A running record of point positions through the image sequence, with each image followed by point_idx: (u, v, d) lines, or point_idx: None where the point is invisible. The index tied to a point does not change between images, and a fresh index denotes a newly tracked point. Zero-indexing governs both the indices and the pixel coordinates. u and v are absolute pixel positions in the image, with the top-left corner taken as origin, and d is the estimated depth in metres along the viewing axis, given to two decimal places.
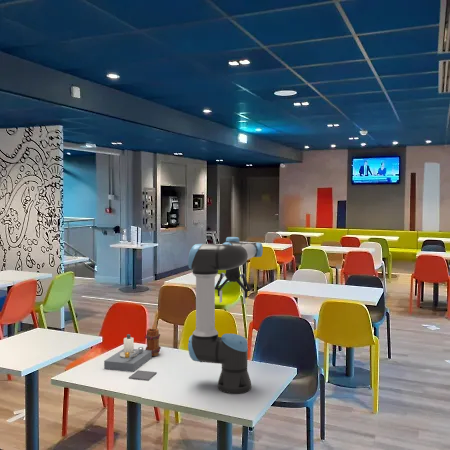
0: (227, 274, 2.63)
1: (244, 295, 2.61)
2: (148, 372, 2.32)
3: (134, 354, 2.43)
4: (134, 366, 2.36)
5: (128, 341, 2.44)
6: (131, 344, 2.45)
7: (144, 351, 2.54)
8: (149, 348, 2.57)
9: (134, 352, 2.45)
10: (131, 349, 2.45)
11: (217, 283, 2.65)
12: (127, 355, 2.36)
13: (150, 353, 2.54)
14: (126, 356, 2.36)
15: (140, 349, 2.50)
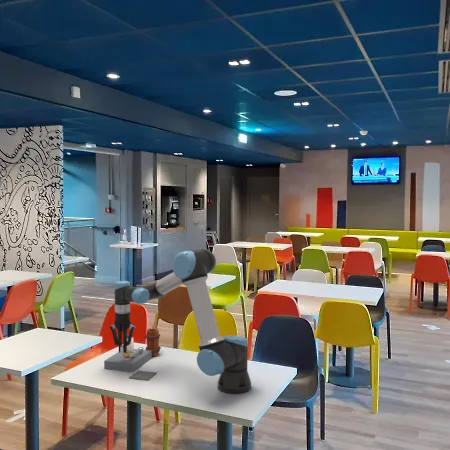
0: None
1: None
2: (148, 372, 2.32)
3: (134, 354, 2.43)
4: (134, 366, 2.36)
5: None
6: (131, 344, 2.45)
7: (144, 351, 2.54)
8: (149, 348, 2.57)
9: (134, 352, 2.45)
10: (131, 349, 2.45)
11: None
12: (127, 355, 2.36)
13: (150, 353, 2.54)
14: (126, 356, 2.36)
15: (140, 349, 2.50)
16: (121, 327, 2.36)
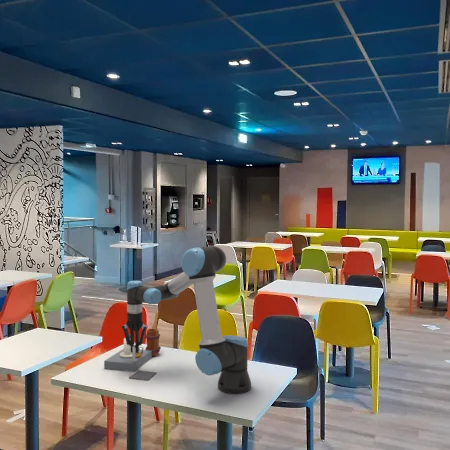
0: None
1: None
2: (148, 372, 2.32)
3: None
4: (134, 366, 2.36)
5: None
6: None
7: (144, 351, 2.54)
8: (149, 348, 2.57)
9: (139, 352, 2.44)
10: None
11: None
12: (139, 355, 2.35)
13: (150, 353, 2.54)
14: (138, 356, 2.35)
15: (141, 349, 2.50)
16: (133, 327, 2.36)
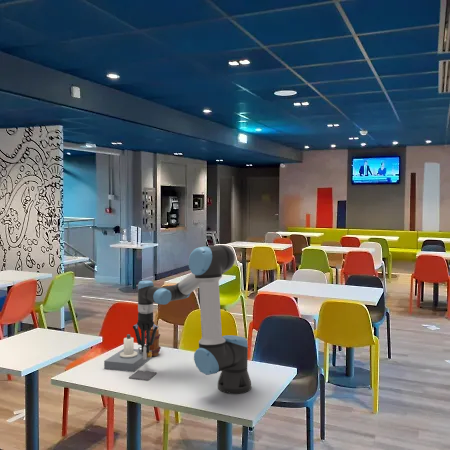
0: None
1: None
2: (148, 372, 2.32)
3: None
4: (134, 366, 2.36)
5: (128, 341, 2.44)
6: (131, 344, 2.45)
7: None
8: None
9: None
10: (131, 349, 2.45)
11: None
12: (150, 354, 2.37)
13: None
14: (150, 355, 2.37)
15: None
16: (144, 327, 2.35)
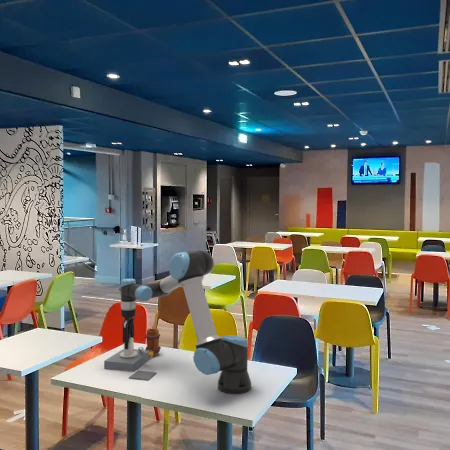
0: None
1: (124, 345, 2.44)
2: (148, 372, 2.32)
3: None
4: (134, 366, 2.36)
5: None
6: (131, 344, 2.45)
7: None
8: (149, 348, 2.57)
9: (145, 352, 2.45)
10: (131, 349, 2.45)
11: None
12: (152, 354, 2.38)
13: None
14: (152, 355, 2.37)
15: (142, 349, 2.51)
16: None
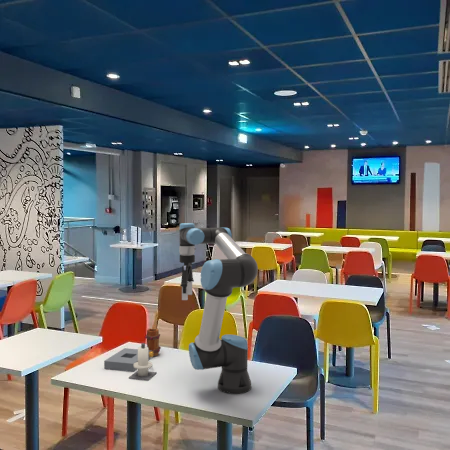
0: None
1: None
2: (148, 372, 2.32)
3: None
4: None
5: (142, 351, 2.26)
6: (146, 354, 2.27)
7: None
8: (149, 348, 2.57)
9: None
10: (146, 360, 2.27)
11: None
12: (152, 354, 2.38)
13: None
14: (152, 355, 2.37)
15: None
16: None
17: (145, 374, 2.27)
